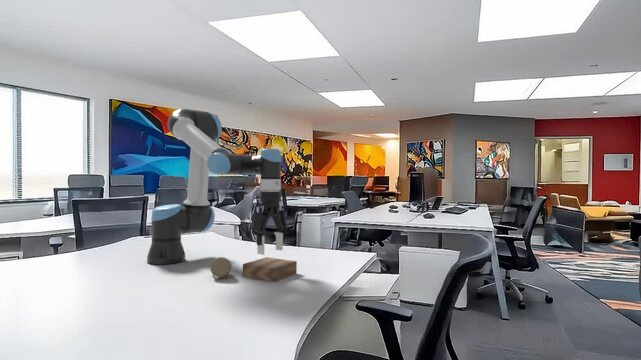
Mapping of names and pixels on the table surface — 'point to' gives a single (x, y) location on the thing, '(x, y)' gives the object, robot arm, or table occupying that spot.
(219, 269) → the brown round piece
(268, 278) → the riser block
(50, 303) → the table surface
